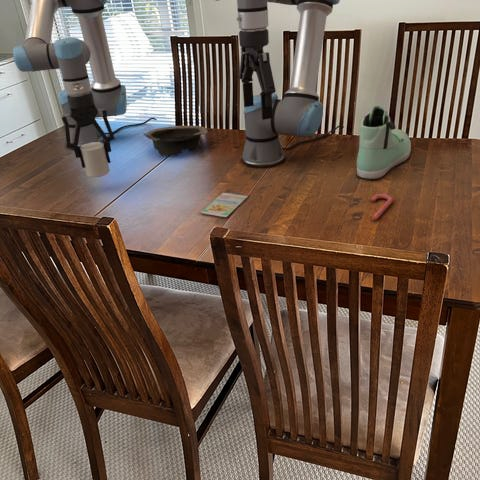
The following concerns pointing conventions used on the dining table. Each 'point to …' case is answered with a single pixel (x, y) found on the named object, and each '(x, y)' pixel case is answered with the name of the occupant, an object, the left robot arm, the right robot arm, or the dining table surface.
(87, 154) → the canister
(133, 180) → the dining table surface
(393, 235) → the dining table surface
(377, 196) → the candy cane
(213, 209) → the baking ingredient package
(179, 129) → the stone bowl
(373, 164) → the sneaker
